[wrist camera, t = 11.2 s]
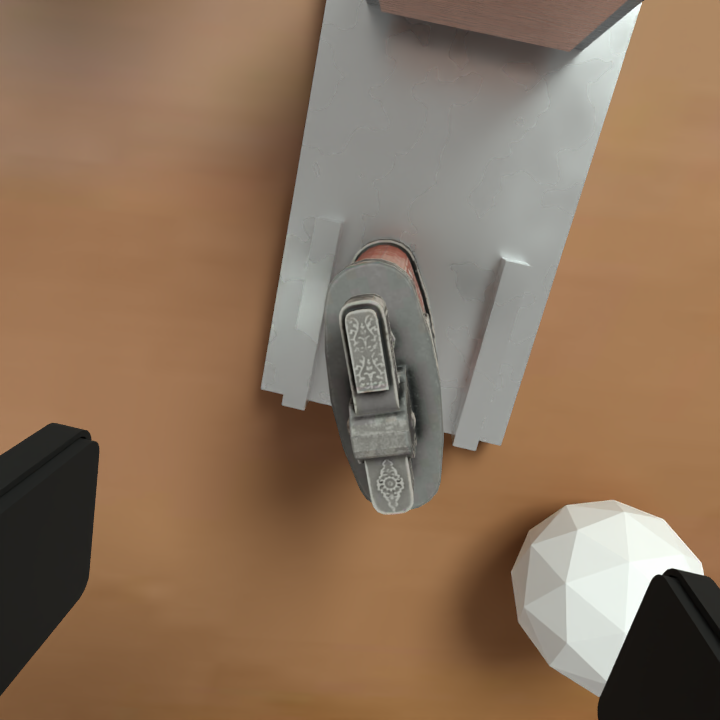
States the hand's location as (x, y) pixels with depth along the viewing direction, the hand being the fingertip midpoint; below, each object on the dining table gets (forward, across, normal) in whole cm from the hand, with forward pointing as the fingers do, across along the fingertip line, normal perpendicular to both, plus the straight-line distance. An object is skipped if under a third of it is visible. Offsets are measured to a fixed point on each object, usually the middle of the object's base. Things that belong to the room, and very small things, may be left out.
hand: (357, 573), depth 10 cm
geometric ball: (+18, -12, +8) cm, 23 cm away
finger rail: (+17, 0, -6) cm, 18 cm away
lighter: (+16, 0, 0) cm, 16 cm away
